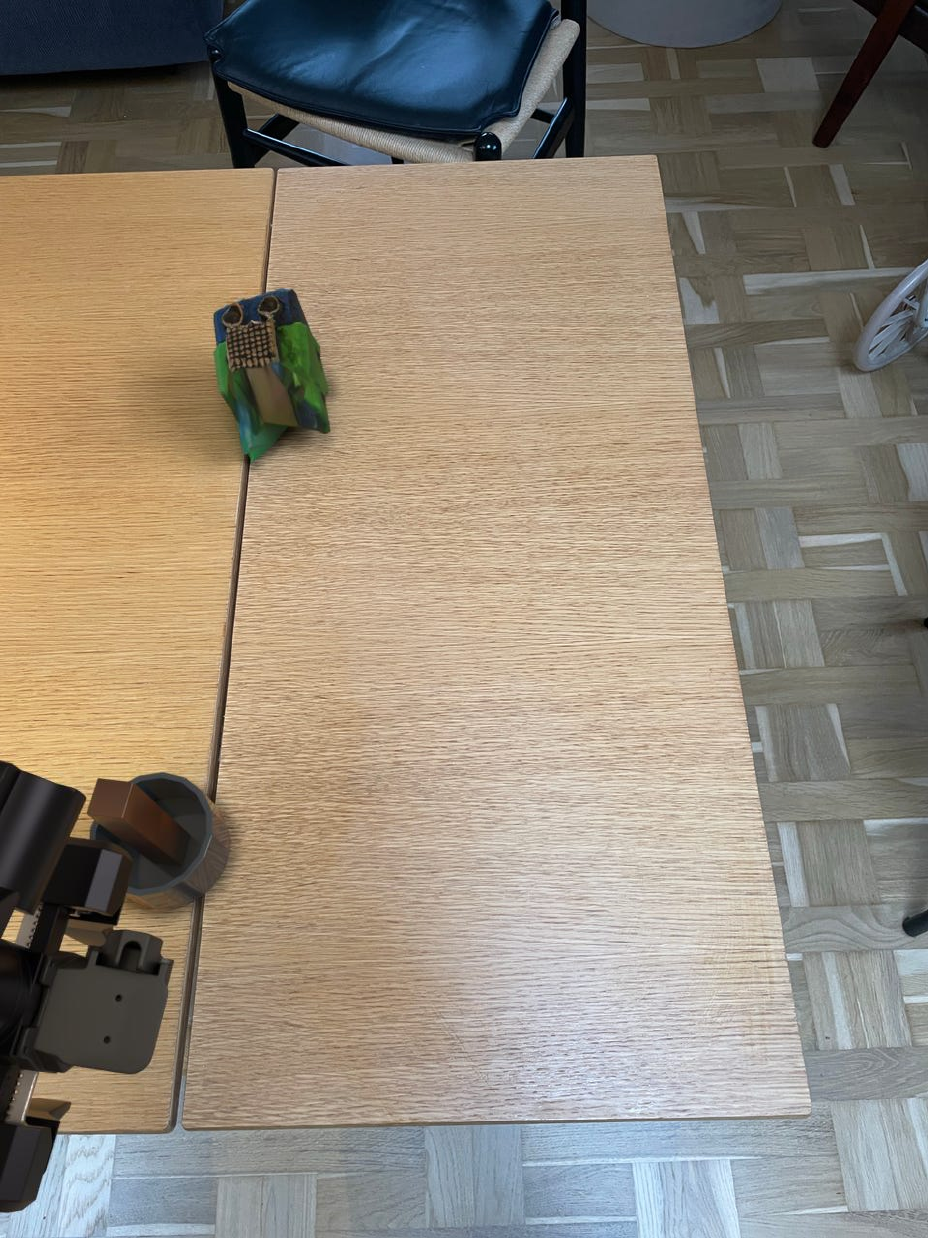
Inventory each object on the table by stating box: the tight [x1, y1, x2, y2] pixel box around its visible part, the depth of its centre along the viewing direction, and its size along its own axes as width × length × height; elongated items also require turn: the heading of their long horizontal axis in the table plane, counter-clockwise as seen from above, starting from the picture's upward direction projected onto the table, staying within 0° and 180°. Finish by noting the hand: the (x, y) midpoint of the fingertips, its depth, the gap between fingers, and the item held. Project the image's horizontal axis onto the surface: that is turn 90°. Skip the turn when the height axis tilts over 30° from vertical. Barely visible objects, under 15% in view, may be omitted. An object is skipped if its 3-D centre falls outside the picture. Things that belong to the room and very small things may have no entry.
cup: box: [88, 771, 231, 910], centre depth 77 cm, size 9×9×6 cm
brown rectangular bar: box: [85, 777, 190, 866], centre depth 73 cm, size 3×3×14 cm
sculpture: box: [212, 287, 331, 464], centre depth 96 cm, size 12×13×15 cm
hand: (86, 1023), depth 61 cm, fingers open, 9 cm apart
